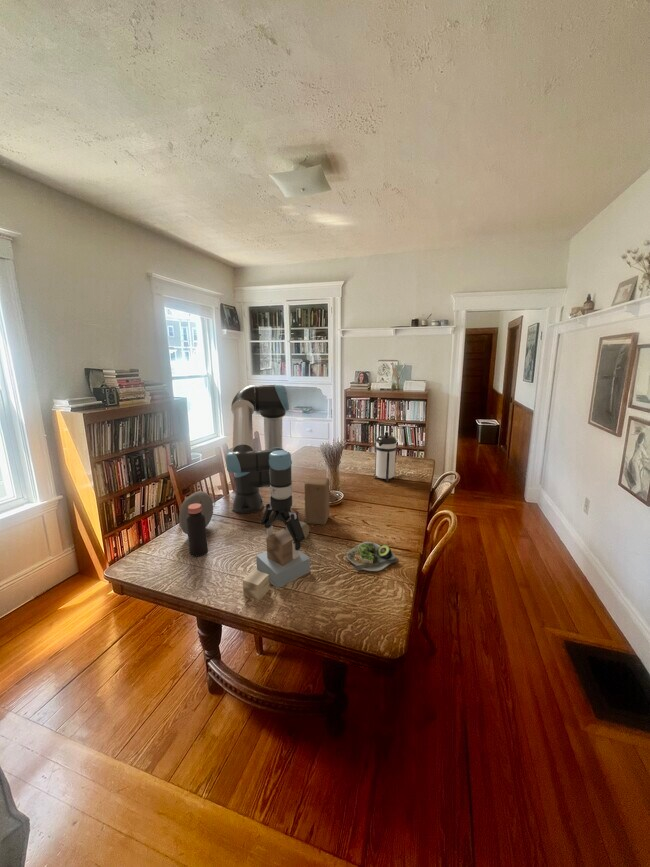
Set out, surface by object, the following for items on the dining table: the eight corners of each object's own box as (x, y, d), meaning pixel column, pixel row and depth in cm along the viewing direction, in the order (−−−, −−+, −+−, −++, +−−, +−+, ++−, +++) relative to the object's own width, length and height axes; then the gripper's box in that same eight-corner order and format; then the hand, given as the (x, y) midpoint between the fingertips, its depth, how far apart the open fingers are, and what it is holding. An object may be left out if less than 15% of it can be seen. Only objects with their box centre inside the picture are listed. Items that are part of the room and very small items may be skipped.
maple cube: (243, 595, 112) (242, 579, 110) (254, 584, 117) (253, 569, 116) (258, 601, 109) (257, 585, 108) (269, 589, 114) (268, 574, 113)
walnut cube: (267, 557, 123) (266, 537, 121) (283, 547, 129) (282, 528, 127) (282, 566, 118) (282, 545, 116) (298, 555, 124) (298, 535, 122)
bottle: (211, 548, 138) (207, 503, 133) (201, 558, 132) (197, 510, 127) (196, 546, 139) (192, 501, 135) (186, 555, 133) (181, 508, 128)
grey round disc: (207, 521, 160) (204, 484, 155) (219, 524, 157) (216, 486, 153) (176, 541, 143) (171, 499, 139) (188, 544, 141) (184, 503, 136)
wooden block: (325, 525, 156) (325, 485, 152) (304, 523, 158) (304, 483, 154) (329, 515, 166) (329, 477, 161) (309, 513, 168) (309, 475, 163)
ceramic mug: (301, 543, 142) (301, 526, 140) (285, 539, 145) (284, 522, 144) (313, 532, 151) (313, 516, 149) (297, 528, 155) (297, 512, 153)
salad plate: (371, 583, 118) (371, 572, 117) (335, 561, 131) (335, 550, 130) (403, 561, 131) (404, 550, 130) (367, 542, 144) (368, 532, 142)
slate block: (256, 569, 126) (256, 555, 124) (288, 555, 134) (288, 541, 133) (277, 589, 115) (276, 574, 114) (310, 572, 124) (309, 558, 122)
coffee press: (400, 482, 208) (403, 435, 201) (374, 482, 208) (376, 434, 201) (395, 472, 225) (397, 428, 218) (370, 472, 225) (372, 428, 218)
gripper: (249, 489, 123) (252, 542, 128) (299, 509, 107) (300, 568, 112) (265, 483, 128) (268, 534, 133) (315, 501, 113) (315, 558, 118)
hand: (282, 550), depth 123 cm, fingers open, 13 cm apart
